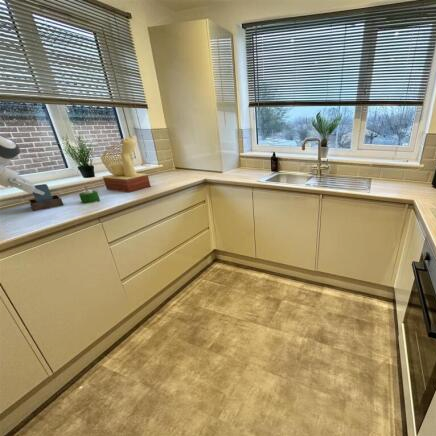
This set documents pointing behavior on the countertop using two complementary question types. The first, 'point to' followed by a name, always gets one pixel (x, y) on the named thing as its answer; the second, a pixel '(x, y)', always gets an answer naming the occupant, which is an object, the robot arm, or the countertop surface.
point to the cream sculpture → (123, 169)
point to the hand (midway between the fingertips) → (43, 192)
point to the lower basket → (46, 203)
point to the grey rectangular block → (40, 197)
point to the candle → (89, 196)
